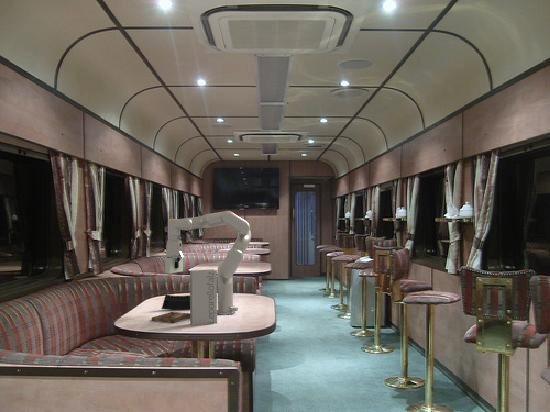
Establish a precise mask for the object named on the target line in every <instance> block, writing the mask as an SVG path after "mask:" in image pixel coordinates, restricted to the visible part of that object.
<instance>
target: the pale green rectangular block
mask: <svg viewBox="0 0 550 412" xmlns="http://www.w3.org/2000/svg"><path fill="white" fill-rule="evenodd" d="M175 262H176V261H175V257H173V258H166V257H165V259H164V273H165V274H175V273H180V272H183V271H184V257H183V258H182V259H181V260H180V261H179V268H175Z"/></svg>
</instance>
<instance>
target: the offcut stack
mask: <svg viewBox="0 0 550 412" xmlns="http://www.w3.org/2000/svg"><path fill="white" fill-rule="evenodd" d="M186 313H187V312H181V313H179V314H176V315H174V316H171V318H170V319H175V318H178V317H181V316H184V315H186Z"/></svg>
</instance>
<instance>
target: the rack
mask: <svg viewBox="0 0 550 412" xmlns="http://www.w3.org/2000/svg"><path fill="white" fill-rule="evenodd" d="M179 313H182V312H180V311H179V312H178V311H170V312H166V313H162V314H159V315H155V316H152V317H151V322H158V321H159V322H160V323H167V324H169V323H170V324H174V323H177V322H178V323H179V322H180V321H184V320H187V319H190V312H185V313H186V315H184V316H181V317H178V318H175V319H170V318H171V316H174V315H176V314H179ZM159 322H158V323H159Z"/></svg>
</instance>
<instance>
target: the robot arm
mask: <svg viewBox="0 0 550 412" xmlns="http://www.w3.org/2000/svg"><path fill="white" fill-rule="evenodd" d="M225 225H227V226H228V227H229V228H231V229H233V230H234V231H236V233H237V238H236V240H235V241H234V243H233V245H232V246H231V248H230V249H229V250H228V251H227V255H226V257H225V258H224V260H223V261H222V263H220V264H219V265H218V266H217V269H216V270H217V315H233V314H235V313H236V312H238V311H239V308H238V307H235V305H234V279H233V275H234V274H235V273H236V271H237V269H238V268H239V266H240V265H241V263H242V261H243V259H244V254H245V251H246V250H247V248H248V247H249V244H250V243H251V239H252V232H251V226H250V223H249V222H248V221H246V220H245V219H243V218H241V216H238V215H237V214H236V213H234V212H233V211H231V210H225V211H219V212H213V213H206V214H203V215H200V216H194V217H187V218H186V217H185V218H179V219H178V218H169V219H168V220H167V241H166V247H165V257H164V258H165V259H166V258H174V257H175V261H176V262H175V268H179V261H180V260H181V259H182V258H183V259H184V249H183V243H182V236H181V231H189V230H196V229H201V228H202V229H203V228H206V229H207V228H214V227H219V226H225Z"/></svg>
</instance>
